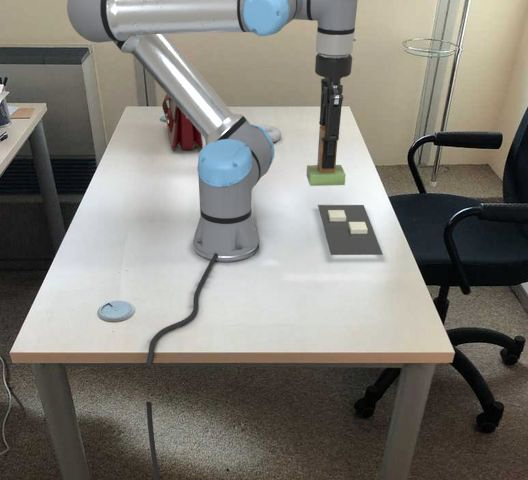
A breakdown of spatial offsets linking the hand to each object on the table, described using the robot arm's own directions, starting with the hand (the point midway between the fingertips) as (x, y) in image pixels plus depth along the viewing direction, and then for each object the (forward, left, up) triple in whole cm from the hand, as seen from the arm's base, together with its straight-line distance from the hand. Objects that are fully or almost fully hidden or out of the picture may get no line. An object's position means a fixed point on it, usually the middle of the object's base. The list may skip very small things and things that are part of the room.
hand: (326, 164), depth 147 cm
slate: (+2, -6, -18) cm, 19 cm away
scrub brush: (0, 0, -4) cm, 4 cm away
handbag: (+49, +56, -18) cm, 76 cm away
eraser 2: (+2, -9, -16) cm, 18 cm away
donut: (+58, +31, -18) cm, 68 cm away
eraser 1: (+7, -2, -16) cm, 18 cm away
